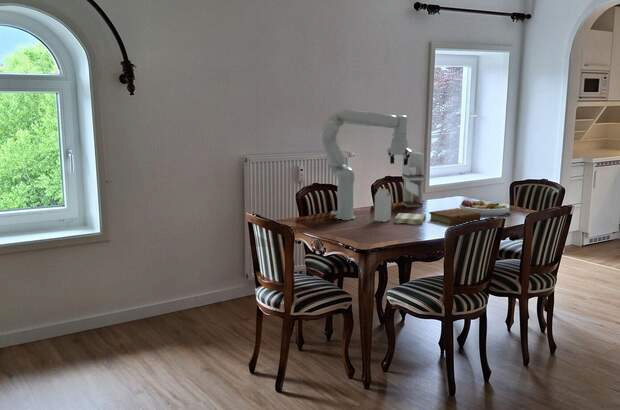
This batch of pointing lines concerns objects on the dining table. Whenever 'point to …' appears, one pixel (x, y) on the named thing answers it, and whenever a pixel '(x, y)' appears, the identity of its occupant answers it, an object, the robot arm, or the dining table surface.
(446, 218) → the diary
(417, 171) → the display case
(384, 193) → the milk carton
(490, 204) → the bowl
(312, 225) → the dining table surface
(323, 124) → the robot arm
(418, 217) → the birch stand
